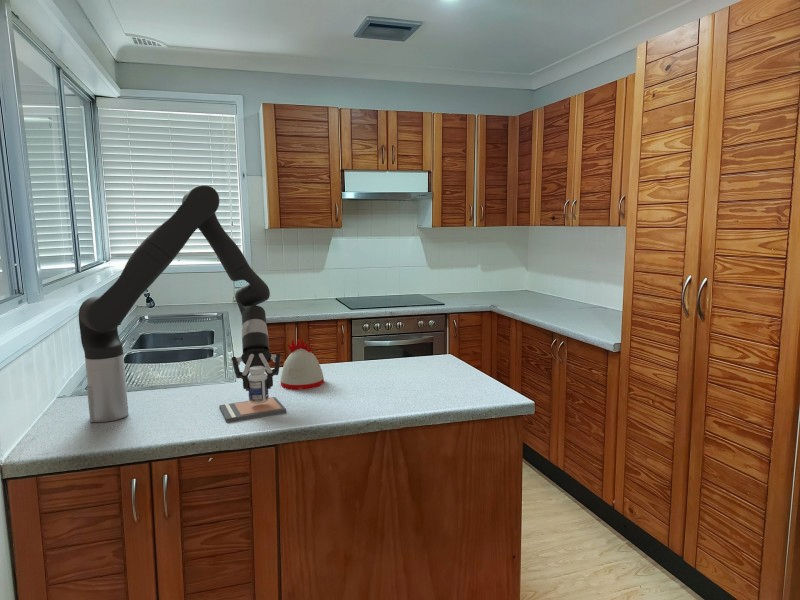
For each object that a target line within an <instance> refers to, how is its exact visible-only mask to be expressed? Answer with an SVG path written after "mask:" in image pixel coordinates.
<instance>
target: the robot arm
mask: <svg viewBox="0 0 800 600" xmlns="http://www.w3.org/2000/svg"><path fill="white" fill-rule="evenodd" d="M219 206H220V196H219V193H218V191H217V190H216V189H215V188H214V187H212V186H210V185H208V184H205V185H204V184H201V185H197V186H196V185H195V186H194V187H192V188H191V189H189V190H188V191H187V192H186V193H185V194H184V195H183V197H182V199H181V204H180V206H179V207H178V208H177V210H176V211H175V212H174V213H173V214H172V215H171V216H170V217H169V218H168V219H166V220H165V221H164V222H163V223H162V224H160V225H159V226H158V227H157V228H155V229H154V230H153V231H152V232H151V233H150V234H149V235H148V236H147V237H145V238H144V240H143V241H142V242H141V243H140V244H139V246H137V248H136V249H135V250H134V251H133V252H132V254H131V255H130V256H129V258H128V260H127V262H126V264H125V266H124V268H123V270H122V272H121V273H120V274H119V275H120V276H119V277H118V278H117V279H116V281H115V282H114V283H113V284H112V285H111V286H110V287H109V288H108V289H107V290H106V291H105V292H104V293H103V294H102V295H101V296H99V295H98V296H97V295H96V296H91V297H88V298H87V299H85V300H84V301H83V302H82V303H81V304H80V306H79V310H78V323H79V324H78V325H79V333H80V334H79V335H80V340H81V341H80V343H81V345H82V348H83V352H84V361H85V370H86V371H85V372H86V382H87V383H86V384H87V388H86V392H87V402H88V413H89V422H90V423H106V422H107V423H108V422H115V421H117V420H120V419H123V418H126V417H127V416H129V405H128V404H129V403H128V392H127V381H126V369H125V360H124V347H123V343H122V341H121V339H120V336H119V331H118V327H119V326H120V325H121V324H122V322H123V321H124V320H125V319H126V317H127V315H129V313H130V311H131V310H132V308H133V306H134V305H135V304H136V302H137V301H138V299H139V298H140V297H141V296H142V295H143V293H145V291H147V290H148V289H149V288H150V286H152V284H153V283H154V282H155V281H156V280H157V279H158V278H159V276H161V275H162V273H164V271H165V270H166V269H167V268H168V267H169V265H170V264H171V263H173V261H174V260H175V258H176V257H177V256H178V254H179V253H180V252H181V250H182V249H183V248H184V247H185V246H186V244H187V242H188V241H189V240H190V238H191V236H193V234H194V233H195V232H196V231H197V230H199V231H200V233H201V234H202V235H203V236H204V238H205V240H206V241H207V242H208V244H209V245H210V247H211V248H212V251H214V254H215V255H216V256H217V259H218V260H219V262H220V264H221V265H222V268H223V269H224V270H225V272H226V274H227V276H228V278H229V279H230V280H231V281H232V282H238V281H245V282H247V284H245V285H243V286H241V287H239V288H238V289H237V290H236V291H235V293H234V299H235V302H236V304H237V307H238V308H239V313H240V315H241V325H242V327H241V344H242V345H241V346H242V354H241V356H239V357H236V356H232V357H231V363H232V367H233V370H234V374H235V378H236V379H241V380H242V389H243V390H245V392H249V391H248V376H249V375H251V373H250V368H251V367H254V366H264V368H265V372H264V373H265V374H266V375H267V378H268V390H271V389H272V387H273V385H274V379H273V377H274V376H278V375H279V373H280V366H281V355H282V354H281V353H276V354H272V353H271V352H270V343H269V332H268V326H267V317H266V311H265V309H264V307H262V306H260V304H262V303H265V302H266V301H268V300H269V299H270V297H271V292H270V288H269V286H268V284H267V283H266V282H265V280H263V279H262V278H261V277H260V276H259V275H258V274H257V273H256V271H254V270H253V268H252V267H251V266H250V265H249V263H248V261H247V259H246V257H245V256H244V254H243V252H242V251H241V249H240V247H239V246H238V244H237V243H236V242H235V241H234V240H233V239H232V238H231V236H230V235H228V232H226V231H225V229H224V228H223V226H222V224H221V223H220V222H219V220H218V217H217V215H216V212H217V210H218V209H219ZM271 360H272V362H273V363H274V368H273V369H272V368H271V366H270V363H269V362H270V361H271ZM241 363H243V364H244V365H245V366H244V369H243V371H241V370H240V365H241Z"/></svg>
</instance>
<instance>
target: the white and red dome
mask: <svg viewBox="0 0 800 600" xmlns="http://www.w3.org/2000/svg"><path fill="white" fill-rule="evenodd" d="M287 346H288V348H289V350H290V353H289V355H288V357H287V358H286V359H285V360H284V361H283V367H282V370H281V373H280V374H281V375H280V387H281V386H282V388H283V389H285V388H286V389H285V390H290V389H292V390H293V391H302V390H310V389H311V390H312V389H315V388H319V387H321V386H323V385H324V383H325V381H324V373H323V370H322V367H321V364H320V362H319V360H318V358H317V357H316V356H315V354H314V353H312V350H313V348H314V347H313V345H312V346H311V347H310V348H309V341H307V343H306V344H305V340H304V338H302V339H301V343H300V339H299V338H298V339H297V341H296V343H295V341H294V339H291V344H290V343H288V342H287Z"/></svg>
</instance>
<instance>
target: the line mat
mask: <svg viewBox="0 0 800 600" xmlns="http://www.w3.org/2000/svg"><path fill="white" fill-rule="evenodd" d="M218 405H219V407H218V408H219V411H220V412H221V415H222V416H223V418H224V421H225V422H226V423H231V422H238V421H242V420H243V421H244V420H249V419H250V420H251V419H256V418H261V417H268V416H274V415H275V416H276V415H281V414H287V408H286V407H285V406H284V405H283V404H282V403H281V401H280V400H279V399H278V398H277V397H276V396H272V397H269V400H268V401H267V402H264V403H260V404H254V403H250V402H249V400H245V401H239V402H234V403H233V402H232V403H225V404H224V403H223V404H218Z"/></svg>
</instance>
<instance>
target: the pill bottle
mask: <svg viewBox="0 0 800 600" xmlns="http://www.w3.org/2000/svg"><path fill="white" fill-rule="evenodd" d="M247 392H248V401H249V402H250V403H254V404H260V403H264V402H267V401H268V400H269V398H270V397H269V389H268V378H267V374H266V372H265V368H264V366H254V367H251V368H250V374H249V375H248V391H247Z"/></svg>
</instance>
